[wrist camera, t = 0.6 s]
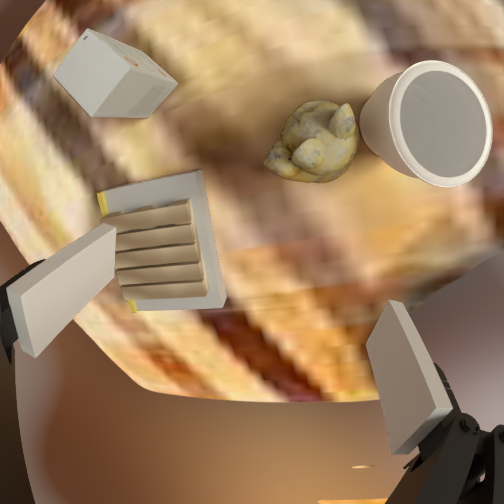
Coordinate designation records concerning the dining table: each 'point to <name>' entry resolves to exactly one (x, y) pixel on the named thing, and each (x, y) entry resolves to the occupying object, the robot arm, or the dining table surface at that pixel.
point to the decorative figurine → (315, 143)
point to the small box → (112, 78)
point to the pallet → (158, 252)
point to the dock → (163, 195)
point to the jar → (429, 124)
